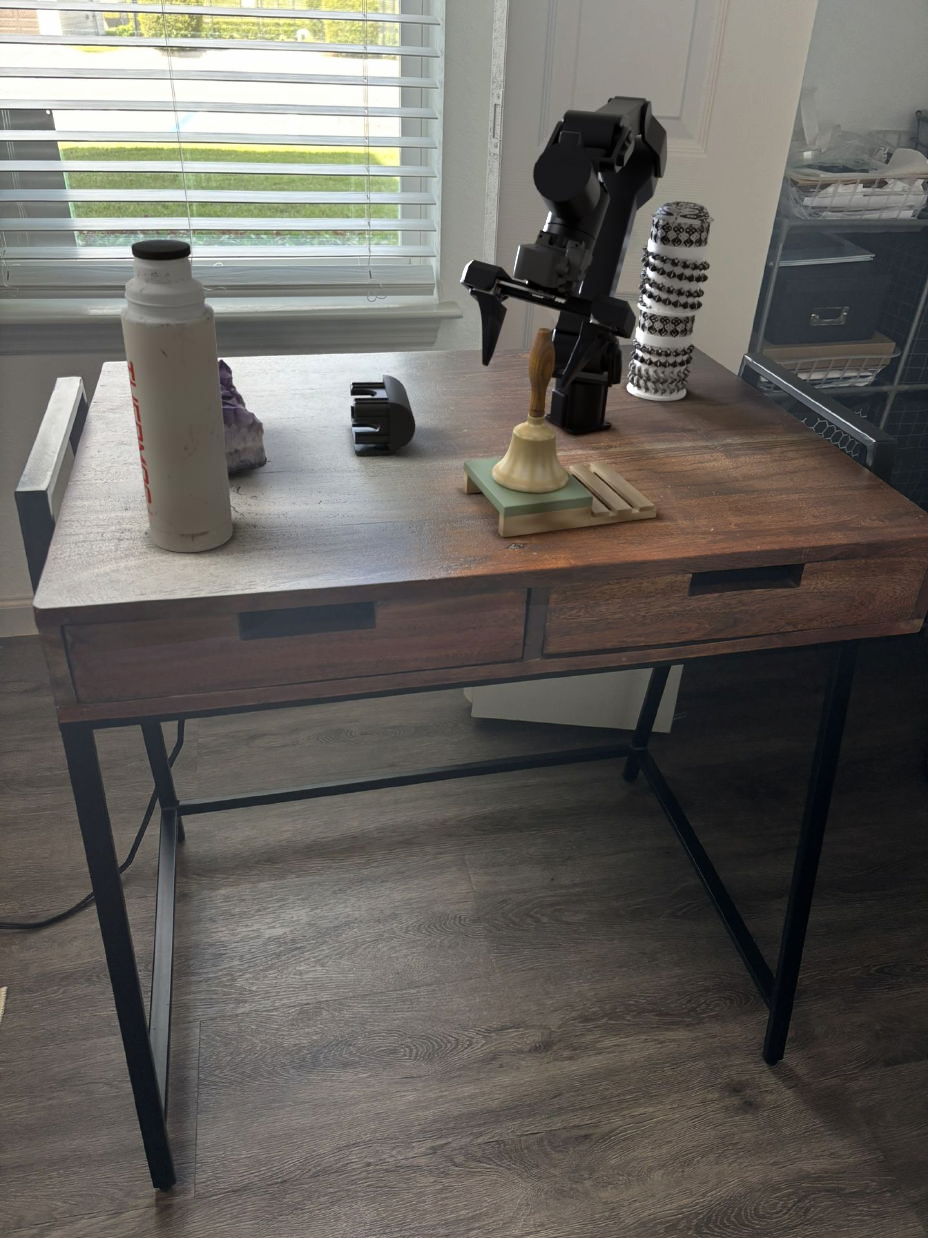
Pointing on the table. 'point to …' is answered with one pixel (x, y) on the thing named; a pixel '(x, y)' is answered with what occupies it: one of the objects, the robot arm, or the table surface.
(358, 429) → the end cap
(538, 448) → the hand bell
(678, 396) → the decorative candle
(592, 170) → the robot arm
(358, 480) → the table surface
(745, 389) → the table surface
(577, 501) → the rack
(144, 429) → the thermos bottle
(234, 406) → the geode
